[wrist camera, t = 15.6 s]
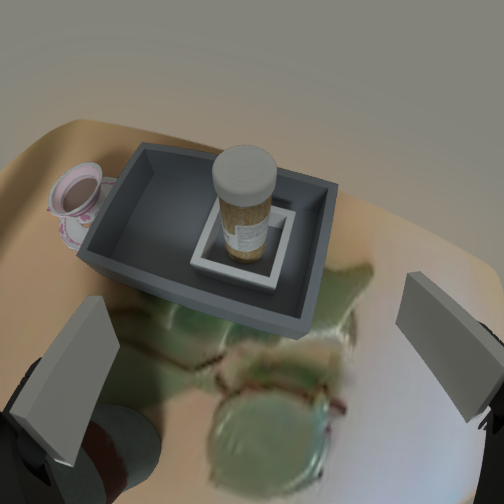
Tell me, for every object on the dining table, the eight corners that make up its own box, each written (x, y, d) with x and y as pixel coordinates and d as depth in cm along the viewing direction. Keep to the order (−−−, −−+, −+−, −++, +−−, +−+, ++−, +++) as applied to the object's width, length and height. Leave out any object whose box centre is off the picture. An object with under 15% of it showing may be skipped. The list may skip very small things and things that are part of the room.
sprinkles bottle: (222, 231, 32) (208, 147, 19) (262, 224, 32) (269, 139, 20) (228, 268, 30) (214, 196, 17) (270, 261, 30) (284, 186, 18)
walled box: (100, 274, 30) (76, 255, 25) (153, 171, 36) (141, 142, 31) (296, 340, 28) (308, 333, 22) (325, 212, 34) (338, 184, 28)
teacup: (120, 166, 37) (106, 138, 31) (142, 225, 33) (125, 198, 27) (56, 204, 35) (36, 181, 29) (68, 268, 31) (41, 249, 25)
